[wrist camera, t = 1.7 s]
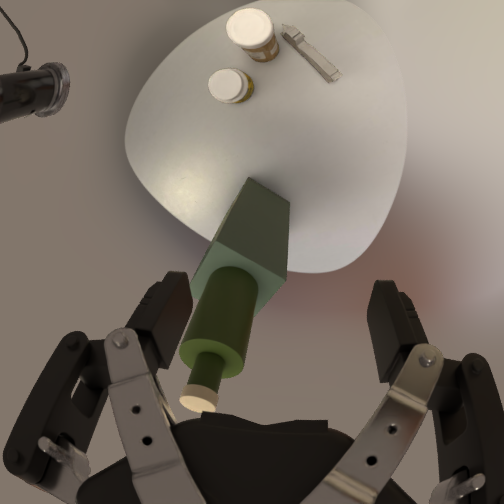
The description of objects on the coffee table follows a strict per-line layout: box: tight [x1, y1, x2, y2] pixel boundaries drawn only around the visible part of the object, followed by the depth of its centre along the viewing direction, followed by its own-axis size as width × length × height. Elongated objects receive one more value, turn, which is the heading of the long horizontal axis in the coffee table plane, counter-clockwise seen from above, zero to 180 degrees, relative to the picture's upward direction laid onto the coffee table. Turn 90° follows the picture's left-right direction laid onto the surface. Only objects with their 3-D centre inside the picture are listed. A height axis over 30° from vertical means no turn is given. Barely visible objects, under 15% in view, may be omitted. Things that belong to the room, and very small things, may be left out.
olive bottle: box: [179, 266, 258, 413], centre depth 22 cm, size 5×5×13 cm
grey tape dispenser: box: [281, 24, 342, 83], centre depth 28 cm, size 6×1×10 cm
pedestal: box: [189, 177, 290, 318], centre depth 36 cm, size 8×8×20 cm
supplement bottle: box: [208, 68, 254, 103], centre depth 31 cm, size 5×5×8 cm
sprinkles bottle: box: [226, 8, 279, 62], centre depth 25 cm, size 5×5×13 cm
